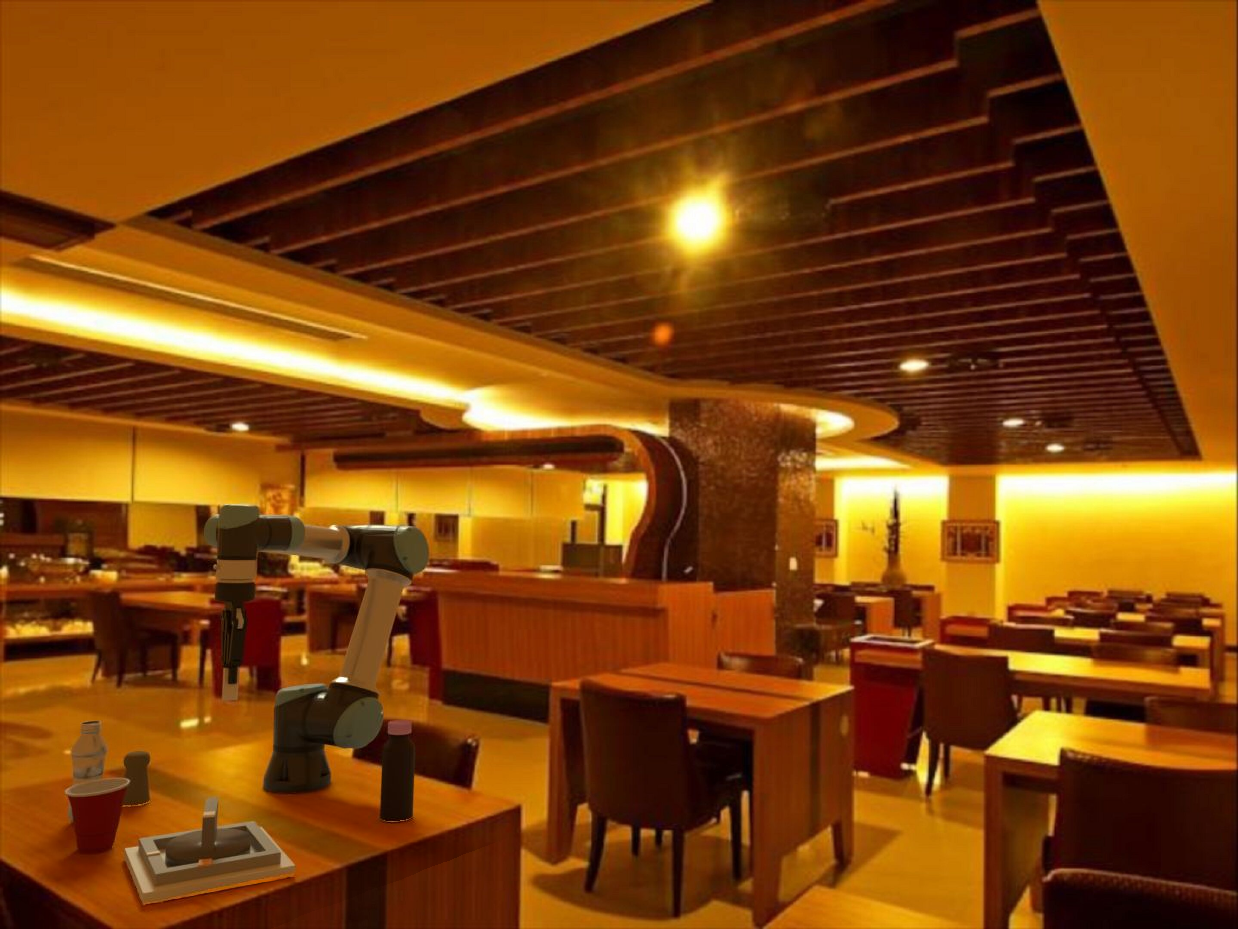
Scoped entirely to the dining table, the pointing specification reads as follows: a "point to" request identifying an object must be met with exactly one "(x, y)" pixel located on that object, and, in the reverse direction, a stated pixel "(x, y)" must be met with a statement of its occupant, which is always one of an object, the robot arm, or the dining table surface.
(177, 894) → the panel
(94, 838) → the plastic cup
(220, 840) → the oval knob with handle
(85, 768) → the plastic bottle
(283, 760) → the robot arm
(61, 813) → the dining table surface
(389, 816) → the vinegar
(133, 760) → the cork
